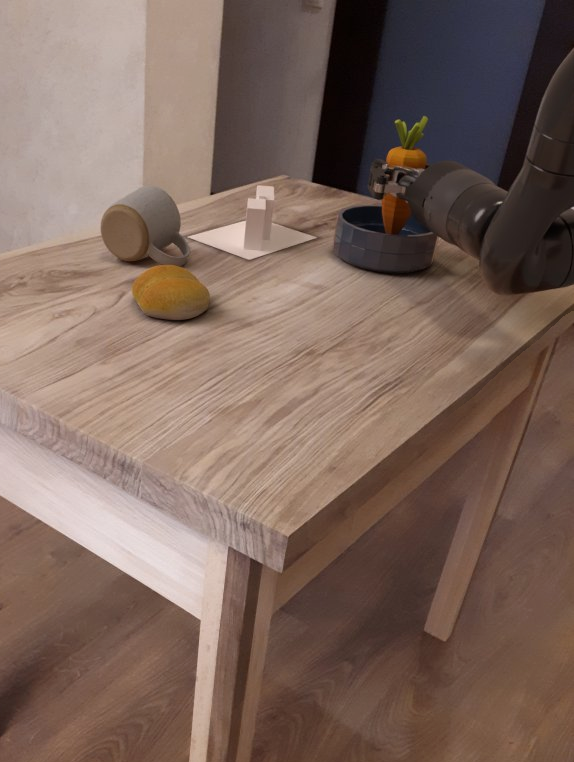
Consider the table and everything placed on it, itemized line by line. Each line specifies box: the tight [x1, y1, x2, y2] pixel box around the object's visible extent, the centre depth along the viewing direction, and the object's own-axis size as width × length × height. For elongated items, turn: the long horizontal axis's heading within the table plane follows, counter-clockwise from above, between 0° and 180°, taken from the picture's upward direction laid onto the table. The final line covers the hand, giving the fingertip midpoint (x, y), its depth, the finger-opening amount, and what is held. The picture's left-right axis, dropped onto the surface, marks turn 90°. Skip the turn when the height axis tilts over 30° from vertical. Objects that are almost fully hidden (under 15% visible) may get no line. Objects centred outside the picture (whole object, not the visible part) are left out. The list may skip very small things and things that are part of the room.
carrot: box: [381, 115, 429, 235], centre depth 101 cm, size 5×5×15 cm
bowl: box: [332, 204, 440, 274], centre depth 104 cm, size 13×13×5 cm
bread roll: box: [131, 264, 211, 321], centre depth 87 cm, size 8×9×4 cm
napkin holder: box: [187, 184, 318, 261], centre depth 108 cm, size 15×11×6 cm
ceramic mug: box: [100, 185, 191, 267], centre depth 98 cm, size 11×8×8 cm
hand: (395, 167), depth 102 cm, fingers closed on carrot, 5 cm apart
